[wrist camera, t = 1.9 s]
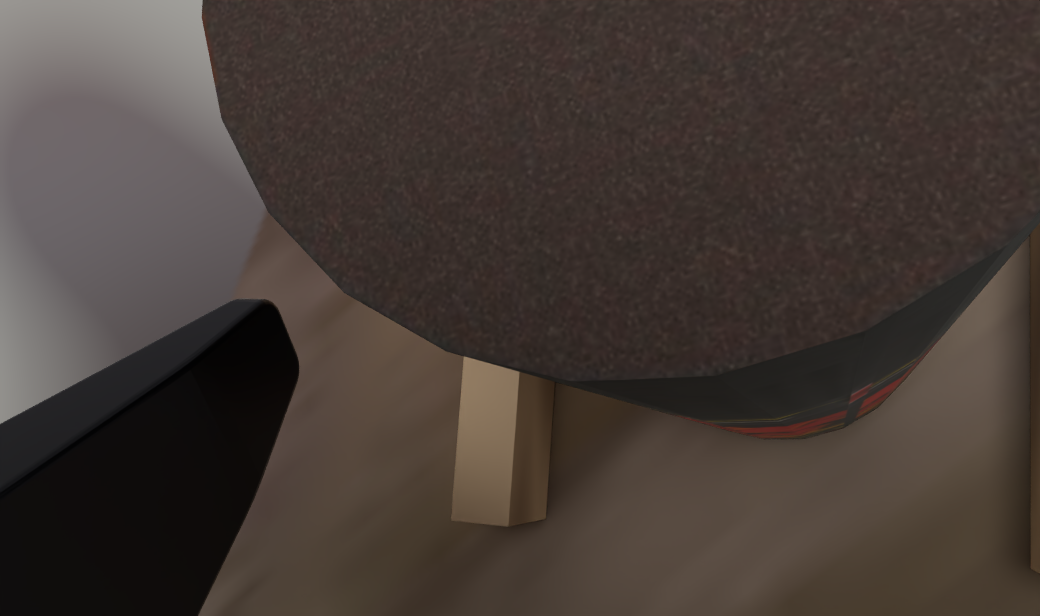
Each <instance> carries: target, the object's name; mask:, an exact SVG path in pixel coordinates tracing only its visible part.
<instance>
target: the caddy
mask: <svg viewBox="0 0 1040 616" xmlns="http://www.w3.org/2000/svg"><path fill="white" fill-rule="evenodd" d="M554 390H555V382H554V381H550V380H547V379H543V378H539V377H536V376H532V375H529V374H525V373H522V372H518V371H515V370H511V369H507V368H504V367H500V366H497V365H493V364H490V363H486V362H483V361H479V360H475V359H472V358H468V357H465V356H464V363H463V375H462V387H461V400H460V412H459V424H458V437H457V449H456V461H455V474H454V486H453V498H452V511H451V521H460V522H469V523H479V524H488V525H497V526H507V527H509V526H514V525H519V524H524V523H528V522H533V521H538V520H543V519H546V509H547V494H548V479H549V464H550V449H551V435H552V420H553V405H554ZM1030 440H1031V569H1032V570H1034V571H1036V572H1038V573H1039V574H1040V223H1039V224H1038V225H1037V227H1036V228H1035V229H1034V230H1033V231H1032V232H1031V234H1030Z"/></svg>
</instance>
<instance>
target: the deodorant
mask: <svg viewBox="0 0 1040 616" xmlns="http://www.w3.org/2000/svg"><path fill="white" fill-rule="evenodd" d="M202 20H203V26H204V31H205V36H206V41H207V46H208V51H209V56H210V61H211V66H212V72H213V77H214V82H215V87H216V92H217V97H218V102H219V108H220V113H221V118H222V120H223V123H224V124H225V127H226V128H227V130H228V132H229V134H230V136H231V138H232V140H233V142H234V144H235V146H236V148H237V150H238V152H239V154H240V156H241V158H242V160H243V162H244V164H245V166H246V168H247V170H248V172H249V174H250V176H251V178H252V180H253V182H254V184H255V186H256V188H257V190H258V192H259V194H260V196H261V198H262V200H263V202H264V204H265V206H266V208H267V210H268V212H269V213H270V215H271V216H272V217H273V218H274V219H275V220H276V221H277V222H278V223H279V224H280V225H281V226H282V227H283V228H284V229H285V230H286V231H287V233H288V234H289V235H290V236H291V237H292V238H293V239H294V240H295V241H296V242H297V243H298V244H299V245H300V246H301V247H302V248H303V250H304V251H305V252H306V253H307V254H308V255H309V256H310V257H311V258H312V259H313V260H314V261H315V262H316V263H317V264H318V265H319V266H320V268H321V269H322V270H323V271H324V272H325V273H326V274H327V275H328V276H329V277H330V278H331V279H332V280H333V281H334V282H335V283H336V284H337V286H338V287H339V288H340V289H341V290H342V291H343V292H344V293H346V294H347V295H349V296H351V297H353V298H354V299H356V300H358V301H360V302H361V303H363V304H365V305H366V306H368V307H370V308H372V309H373V310H375V311H377V312H379V313H380V314H382V315H384V316H386V317H387V318H389V319H391V320H393V321H394V322H396V323H398V324H400V325H401V326H403V327H405V328H407V329H408V330H410V331H412V332H413V333H415V334H417V335H419V336H420V337H422V338H424V339H426V340H427V341H429V342H431V343H433V344H434V345H436V346H438V347H440V348H441V349H443V350H445V351H447V352H451V353H454V354H458V355H461V356H465V357H468V358H472V359H475V360H479V361H483V362H486V363H490V364H493V365H497V366H500V367H504V368H507V369H511V370H515V371H518V372H522V373H525V374H529V375H532V376H536V377H539V378H543V379H547V380H550V381H554V382H557V383H561V384H564V385H568V386H572V387H575V388H579V389H582V390H586V391H589V392H593V393H596V394H600V395H604V396H607V397H611V398H614V399H618V400H621V401H625V402H628V403H632V404H636V405H639V406H643V407H646V408H650V409H653V410H657V411H660V412H664V413H668V414H671V415H675V416H678V417H682V418H685V419H689V420H692V421H696V422H700V423H703V424H707V425H710V426H714V427H717V428H721V429H724V430H728V431H732V432H736V433H740V434H745V435H749V436H753V437H757V438H761V439H805V438H809V437H813V436H816V435H820V434H824V433H827V432H831V431H835V430H838V429H842V428H844V427H846V426H848V425H849V424H851V423H853V422H854V421H856V420H858V419H859V418H861V417H863V416H865V415H866V414H868V413H870V412H871V411H873V410H875V409H876V408H878V407H879V406H880V405H881V404H882V403H883V402H884V401H885V400H886V399H887V398H888V397H889V396H890V394H891V393H892V392H893V391H894V390H895V389H896V388H897V387H898V386H899V385H900V384H901V383H902V382H903V381H904V380H905V379H906V378H907V377H908V375H909V374H910V373H911V372H912V371H913V370H914V369H915V367H916V366H917V365H918V364H919V363H920V362H921V360H922V359H923V358H924V357H925V356H926V355H927V353H928V352H929V351H930V350H931V349H932V348H933V346H934V345H935V344H936V343H937V342H938V341H939V339H940V338H941V337H942V336H943V335H944V334H945V332H946V331H947V330H948V329H949V328H950V327H951V325H952V324H953V323H954V322H955V321H956V320H957V318H958V317H959V316H960V315H961V314H962V313H963V312H964V310H965V309H966V308H967V307H968V306H969V305H970V303H971V302H972V301H973V300H974V299H975V298H976V296H977V295H978V294H979V293H980V292H981V291H982V289H983V288H984V287H985V286H986V285H987V284H988V282H989V281H990V280H991V279H992V278H993V277H994V275H995V274H996V273H997V272H998V271H999V270H1000V268H1001V267H1002V266H1003V265H1004V264H1005V263H1006V261H1007V260H1008V259H1009V258H1010V257H1011V256H1012V255H1013V253H1014V252H1015V251H1016V250H1017V249H1018V248H1019V246H1020V245H1021V244H1022V243H1023V242H1024V241H1025V239H1026V238H1027V237H1028V236H1029V235H1030V234H1031V232H1032V231H1033V230H1034V229H1035V228H1036V227H1037V225H1038V224H1039V223H1040V0H203V6H202Z"/></svg>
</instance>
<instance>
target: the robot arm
mask: <svg viewBox="0 0 1040 616" xmlns="http://www.w3.org/2000/svg"><path fill="white" fill-rule="evenodd" d="M298 376H299V361H298V357H297V354H296V351H295V349H294V346H293V344H292V341H291V339H290V336H289V334H288V332H287V329H286V327H285V324H284V322H283V319H282V317H281V314H280V312H279V310H278V308H277V307H276V306H275V305H274V303H272V302H271V301H269V300H266V299H235V300H232V301H230V302H228V303H226V304H224V305H222V306H220V307H219V308H217V309H215V310H213V311H211V312H209V313H208V314H206V315H204V316H202V317H200V318H198V319H196V320H194V321H193V322H190V323H189V324H187V325H185V326H183V327H181V328H179V329H177V330H175V331H174V332H172V333H170V334H168V335H166V336H164V337H163V338H160V339H159V340H157V341H155V342H153V343H151V344H149V345H147V346H145V347H144V348H142V349H140V350H138V351H136V352H134V353H132V354H131V355H129V356H127V357H125V358H123V359H121V360H119V361H117V362H115V363H114V364H112V365H110V366H108V367H106V368H104V369H102V370H101V371H99V372H97V373H95V374H93V375H91V376H89V377H87V378H85V379H84V380H82V381H80V382H78V383H76V384H74V385H72V386H70V387H69V388H67V389H65V390H63V391H61V392H59V393H57V394H55V395H54V396H52V397H50V398H48V399H46V400H44V401H42V402H40V403H39V404H37V405H35V406H33V407H31V408H29V409H27V410H25V411H24V412H22V413H20V414H18V415H16V416H14V417H12V418H10V419H9V420H7V421H5V422H3V423H1V424H0V616H198V615H199V613H200V610H201V608H202V606H203V604H204V602H205V600H206V598H207V596H208V594H209V592H210V590H211V588H212V586H213V584H214V582H215V580H216V578H217V576H218V573H219V571H220V569H221V567H222V565H223V563H224V561H225V559H226V557H227V555H228V553H229V551H230V549H231V547H232V545H233V543H234V541H235V539H236V536H237V534H238V532H239V530H240V528H241V526H242V524H243V522H244V520H245V518H246V516H247V514H248V511H249V509H250V507H251V505H252V503H253V500H254V498H255V495H256V493H257V490H258V488H259V485H260V483H261V480H262V478H263V475H264V472H265V470H266V467H267V464H268V461H269V459H270V456H271V453H272V450H273V448H274V445H275V442H276V439H277V437H278V434H279V431H280V428H281V425H282V423H283V420H284V417H285V414H286V412H287V409H288V406H289V403H290V401H291V398H292V395H293V392H294V390H295V387H296V384H297V381H298Z"/></svg>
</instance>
